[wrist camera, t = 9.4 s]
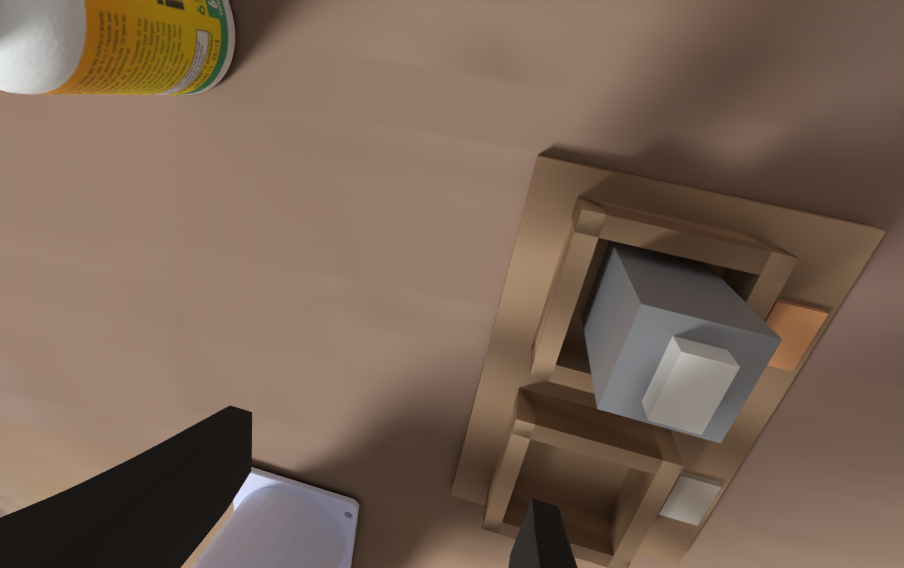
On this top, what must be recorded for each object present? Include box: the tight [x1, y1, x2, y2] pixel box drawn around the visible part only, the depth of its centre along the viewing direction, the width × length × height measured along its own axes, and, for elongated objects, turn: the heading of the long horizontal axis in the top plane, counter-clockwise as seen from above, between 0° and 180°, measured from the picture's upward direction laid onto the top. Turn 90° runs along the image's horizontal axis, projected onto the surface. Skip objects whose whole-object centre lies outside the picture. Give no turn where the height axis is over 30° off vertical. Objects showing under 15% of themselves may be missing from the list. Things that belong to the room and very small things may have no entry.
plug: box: [582, 240, 782, 443], centre depth 14 cm, size 4×4×7 cm
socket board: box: [450, 154, 886, 568], centre depth 18 cm, size 18×12×3 cm, turn 169°
